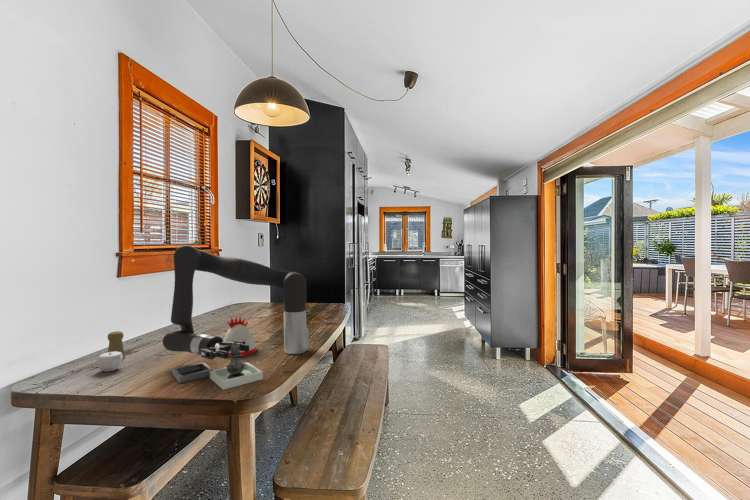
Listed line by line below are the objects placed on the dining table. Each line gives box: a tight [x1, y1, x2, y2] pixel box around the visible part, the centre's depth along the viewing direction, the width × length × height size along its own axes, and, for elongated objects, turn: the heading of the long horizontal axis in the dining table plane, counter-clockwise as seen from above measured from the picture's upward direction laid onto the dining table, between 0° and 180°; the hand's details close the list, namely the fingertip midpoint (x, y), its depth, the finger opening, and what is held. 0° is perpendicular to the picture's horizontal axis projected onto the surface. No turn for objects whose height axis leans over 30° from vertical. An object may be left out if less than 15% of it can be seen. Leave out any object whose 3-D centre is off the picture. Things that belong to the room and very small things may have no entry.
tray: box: [209, 362, 264, 391], centre depth 121 cm, size 13×13×2 cm
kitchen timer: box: [222, 316, 257, 358], centre depth 151 cm, size 14×14×15 cm
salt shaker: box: [225, 341, 245, 379], centre depth 121 cm, size 6×6×12 cm
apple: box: [96, 351, 124, 372], centre depth 131 cm, size 8×8×7 cm
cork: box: [107, 330, 126, 360], centre depth 143 cm, size 6×6×11 cm
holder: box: [171, 362, 214, 384], centre depth 125 cm, size 10×10×2 cm
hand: (238, 351), depth 120 cm, fingers open, 8 cm apart
